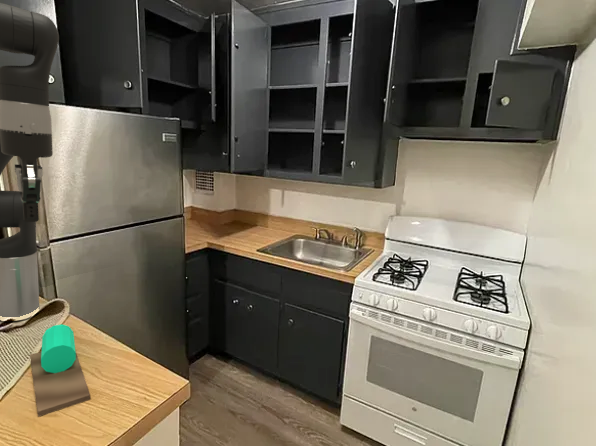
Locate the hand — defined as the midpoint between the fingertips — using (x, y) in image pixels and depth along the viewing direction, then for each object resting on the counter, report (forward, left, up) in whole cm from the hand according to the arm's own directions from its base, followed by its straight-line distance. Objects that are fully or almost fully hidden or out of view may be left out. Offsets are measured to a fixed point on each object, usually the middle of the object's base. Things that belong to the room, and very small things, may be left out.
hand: (31, 221), depth 67 cm
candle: (+4, +5, -28) cm, 29 cm away
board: (+4, +5, -32) cm, 33 cm away
